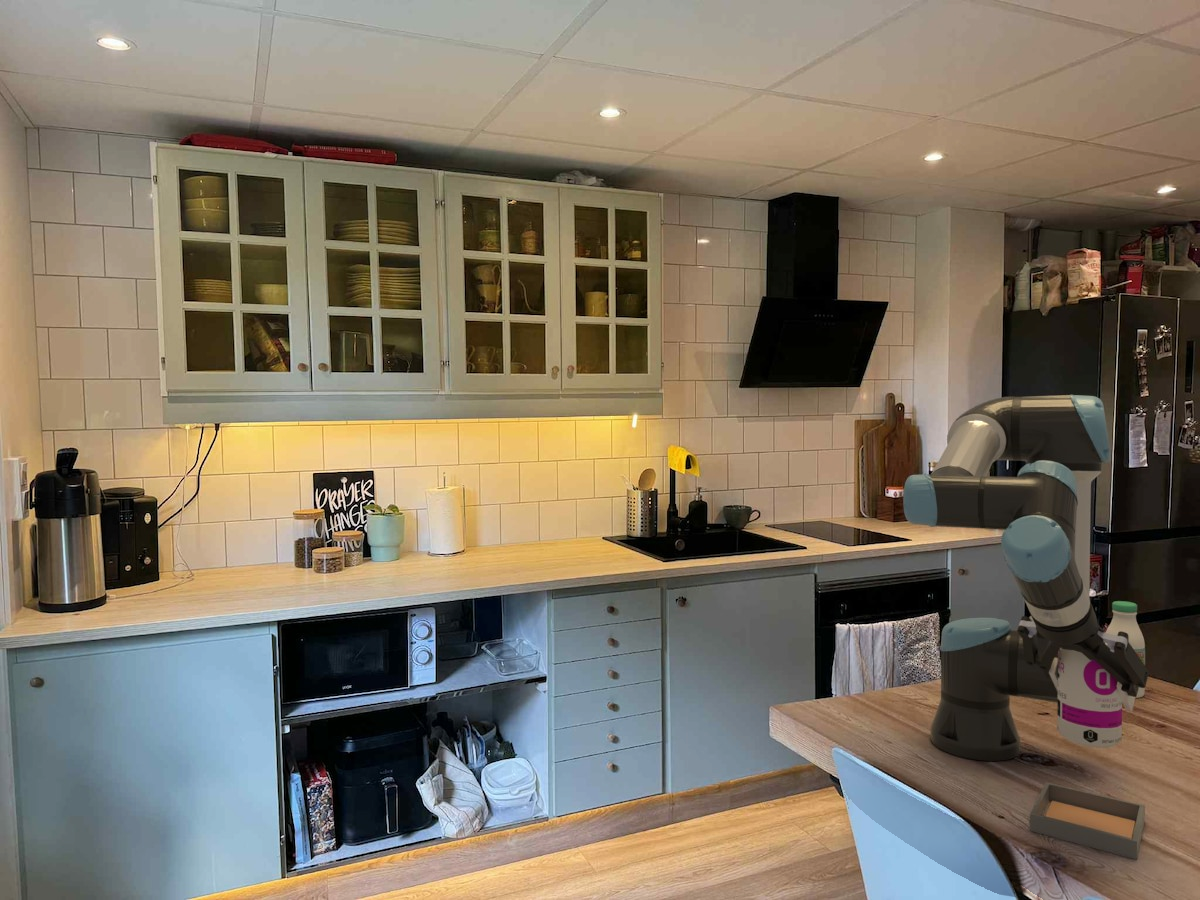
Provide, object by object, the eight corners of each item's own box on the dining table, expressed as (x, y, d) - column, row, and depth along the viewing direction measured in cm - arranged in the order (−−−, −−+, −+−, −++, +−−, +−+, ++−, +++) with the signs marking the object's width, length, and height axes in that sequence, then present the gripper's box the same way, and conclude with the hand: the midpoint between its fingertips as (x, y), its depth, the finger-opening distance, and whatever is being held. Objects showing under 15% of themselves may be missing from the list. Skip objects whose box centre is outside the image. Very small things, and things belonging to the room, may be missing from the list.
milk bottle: (1094, 688, 182) (1095, 599, 181) (1126, 686, 183) (1127, 598, 182) (1120, 699, 174) (1121, 607, 174) (1153, 698, 175) (1154, 606, 174)
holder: (1136, 859, 112) (1137, 841, 111) (1029, 830, 120) (1030, 814, 119) (1144, 821, 122) (1144, 805, 122) (1045, 797, 130) (1045, 781, 130)
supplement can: (1134, 749, 116) (1135, 645, 115) (1075, 749, 116) (1076, 645, 116) (1101, 728, 124) (1102, 631, 123) (1046, 728, 124) (1047, 631, 124)
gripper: (973, 615, 117) (1016, 700, 128) (1143, 644, 101) (1175, 737, 113) (988, 574, 120) (1029, 660, 131) (1156, 596, 105) (1185, 691, 116)
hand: (1096, 695), depth 122 cm, fingers closed on supplement can, 8 cm apart
